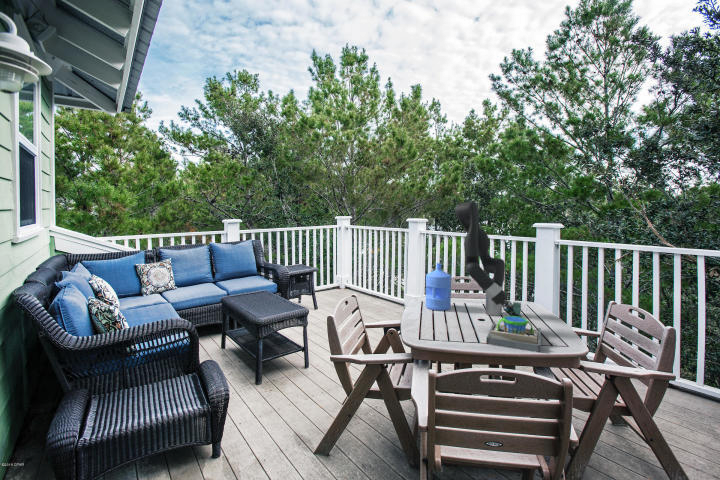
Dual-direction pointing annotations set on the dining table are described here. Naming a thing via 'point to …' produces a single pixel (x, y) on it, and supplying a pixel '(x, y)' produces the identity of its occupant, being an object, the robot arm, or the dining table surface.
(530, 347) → the rectangular frame
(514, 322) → the snack cup
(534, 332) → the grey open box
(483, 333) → the dining table surface
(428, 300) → the water jug
